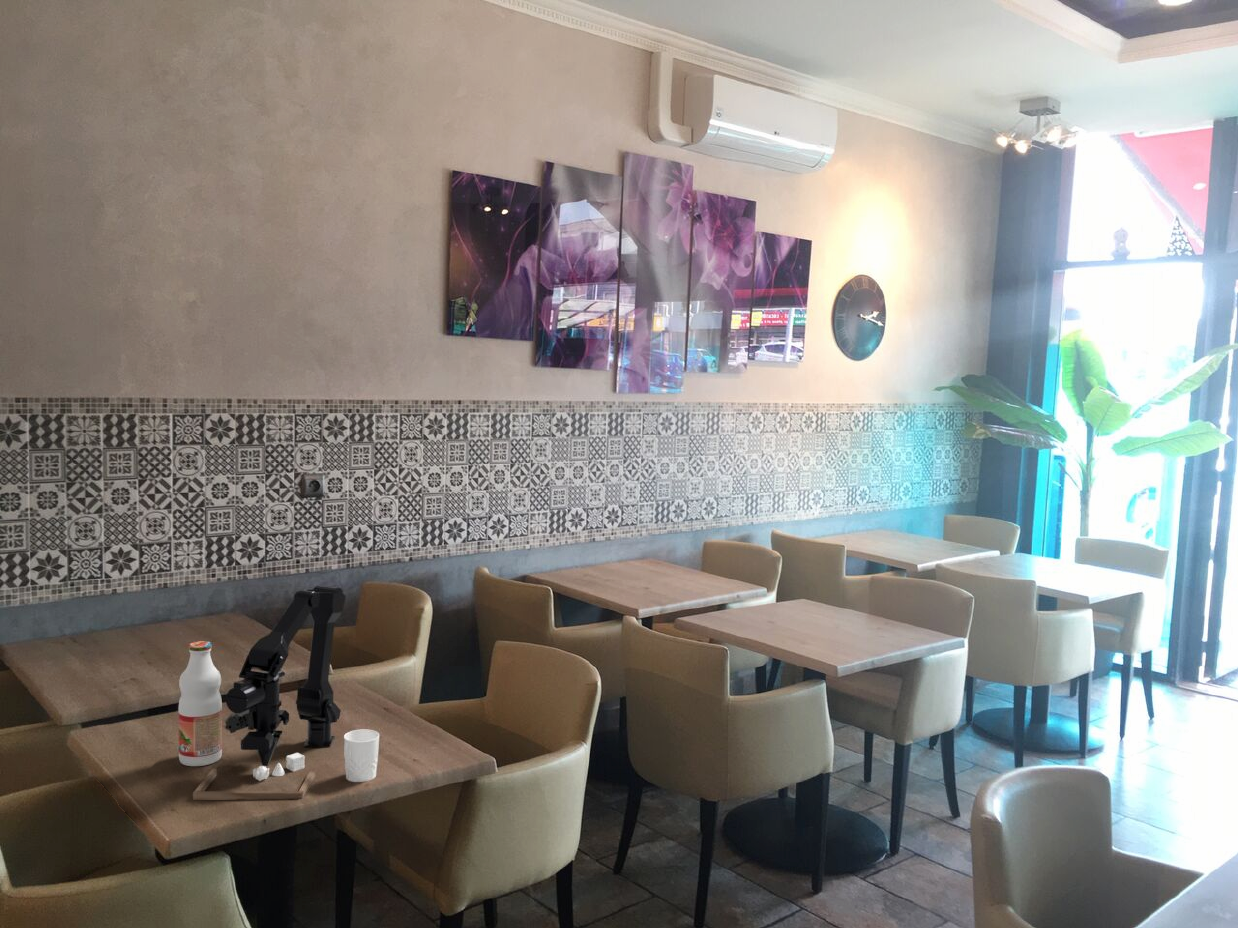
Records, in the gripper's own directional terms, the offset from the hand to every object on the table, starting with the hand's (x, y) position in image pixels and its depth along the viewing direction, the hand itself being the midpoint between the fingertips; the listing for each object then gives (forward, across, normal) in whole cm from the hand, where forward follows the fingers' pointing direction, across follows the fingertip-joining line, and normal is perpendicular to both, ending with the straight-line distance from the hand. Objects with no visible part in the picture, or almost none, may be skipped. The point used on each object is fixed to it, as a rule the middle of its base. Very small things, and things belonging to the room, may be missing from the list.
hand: (265, 765), depth 231 cm
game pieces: (+2, +1, +3) cm, 4 cm away
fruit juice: (+2, -7, -17) cm, 18 cm away
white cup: (+2, +3, +22) cm, 22 cm away
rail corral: (+2, +8, 0) cm, 8 cm away
